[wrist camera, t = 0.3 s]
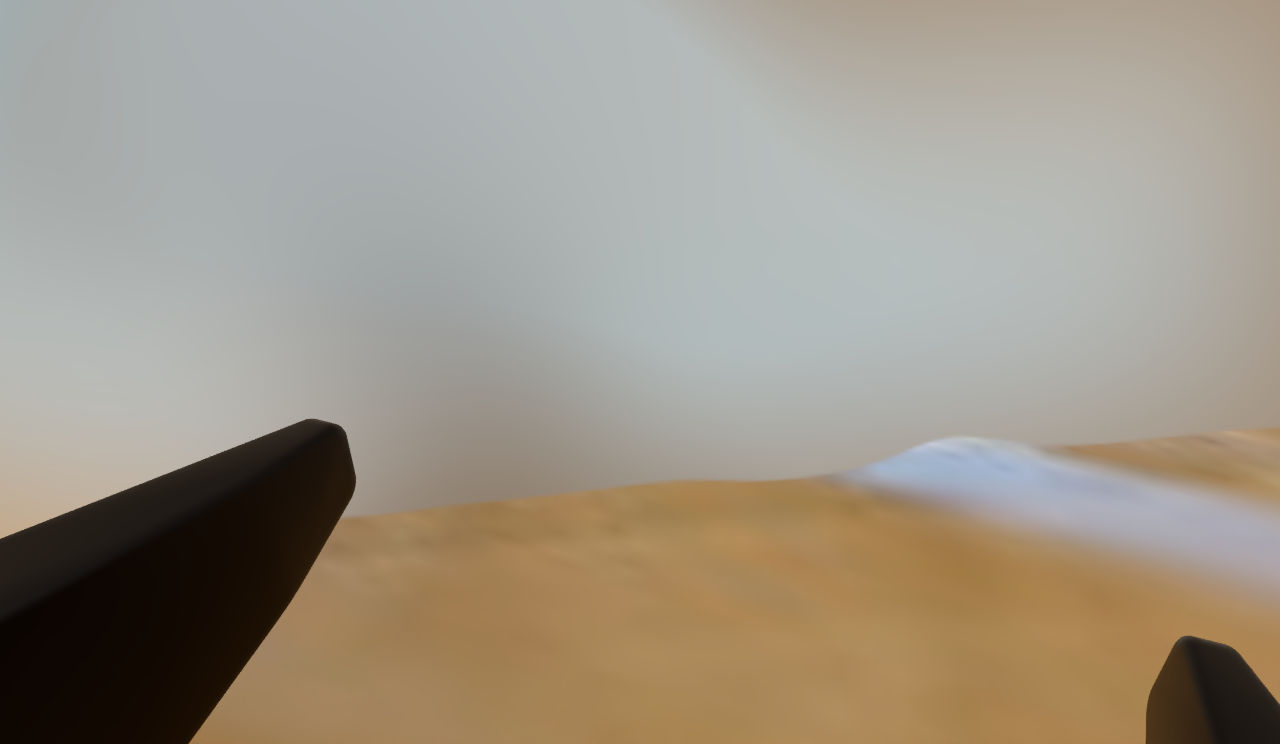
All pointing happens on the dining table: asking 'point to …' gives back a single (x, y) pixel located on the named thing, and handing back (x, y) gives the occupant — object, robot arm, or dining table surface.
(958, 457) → the dining table surface
